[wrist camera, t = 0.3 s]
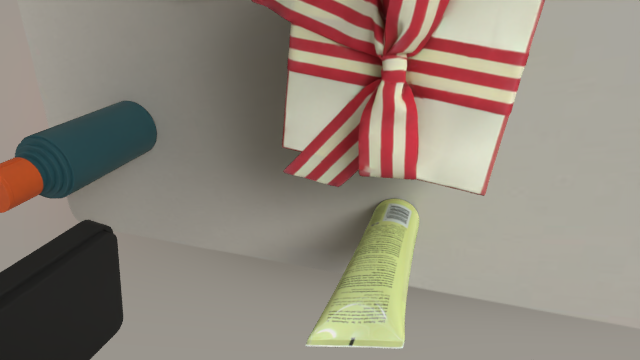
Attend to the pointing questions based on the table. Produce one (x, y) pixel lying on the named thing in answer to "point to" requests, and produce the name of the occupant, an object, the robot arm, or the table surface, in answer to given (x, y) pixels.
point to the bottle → (88, 147)
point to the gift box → (402, 86)
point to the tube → (373, 284)
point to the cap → (18, 183)
